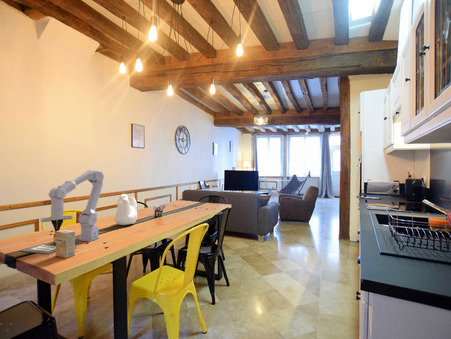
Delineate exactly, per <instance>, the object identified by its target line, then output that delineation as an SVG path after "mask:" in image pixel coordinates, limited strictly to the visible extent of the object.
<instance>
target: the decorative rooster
mask: <svg viewBox="0 0 451 339" xmlns="http://www.w3.org/2000/svg"><path fill="white" fill-rule="evenodd" d="M116 204H117V206H116V207H117V208H116V213H115V216H114V223H116V224H117V225H119V226H120V225H121V226H126V225H131V224H135V223H136V221H137V219H138V207H139V206H138V202H137V200H136V198H135V197H134V196H128V194H126V193H122V194H121V195H120V196H119V199H118V200H117V202H116Z"/></svg>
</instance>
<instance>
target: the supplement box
mask: <svg viewBox="0 0 451 339" xmlns="http://www.w3.org/2000/svg"><path fill="white" fill-rule="evenodd" d="M75 238H76V231H75V230H71V229H70V230H69V229H66V228H65V229H59V231H56V252H55V256H56V257H59V258H64V259H69V258H71V257H75V256H76V245H75Z"/></svg>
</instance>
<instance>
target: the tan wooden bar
mask: <svg viewBox="0 0 451 339" xmlns="http://www.w3.org/2000/svg"><path fill="white" fill-rule="evenodd" d="M79 239H80V238H77V237H75V246H77V245H80V240H79ZM53 242H54V243H56V234H55V233H54V234H53Z"/></svg>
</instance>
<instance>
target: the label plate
mask: <svg viewBox="0 0 451 339" xmlns="http://www.w3.org/2000/svg"><path fill="white" fill-rule="evenodd" d="M21 252H24V253H33V254H43V255H51V254H53V253H56V245H53V244H50V243H40V244H36V245H34V246H30V247H27V248H24V249H21Z"/></svg>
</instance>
